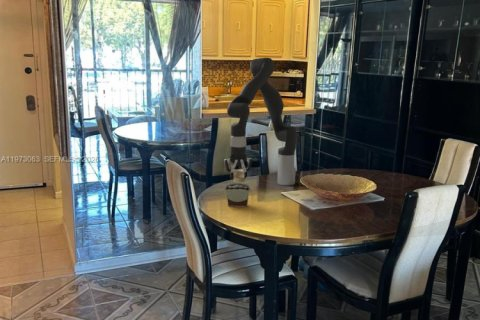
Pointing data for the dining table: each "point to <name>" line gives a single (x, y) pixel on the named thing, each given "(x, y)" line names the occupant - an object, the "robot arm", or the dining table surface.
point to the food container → (237, 194)
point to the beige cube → (238, 175)
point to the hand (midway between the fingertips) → (238, 179)
